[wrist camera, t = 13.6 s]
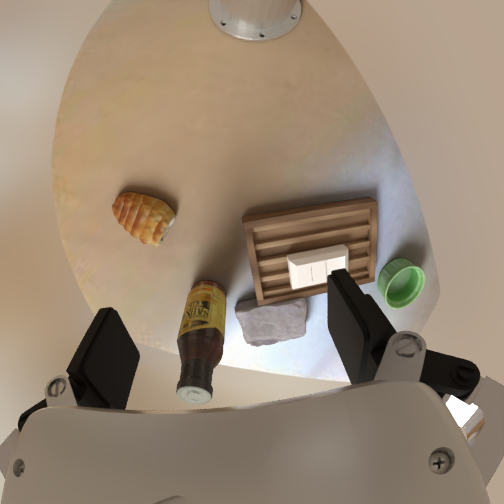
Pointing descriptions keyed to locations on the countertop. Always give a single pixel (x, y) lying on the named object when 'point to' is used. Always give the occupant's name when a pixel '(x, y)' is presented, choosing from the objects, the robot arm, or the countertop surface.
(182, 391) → the sauce bottle
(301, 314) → the stone block
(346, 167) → the countertop surface
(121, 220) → the pastry
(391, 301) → the ramekin
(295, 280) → the soap bar
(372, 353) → the robot arm
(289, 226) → the drying rack
